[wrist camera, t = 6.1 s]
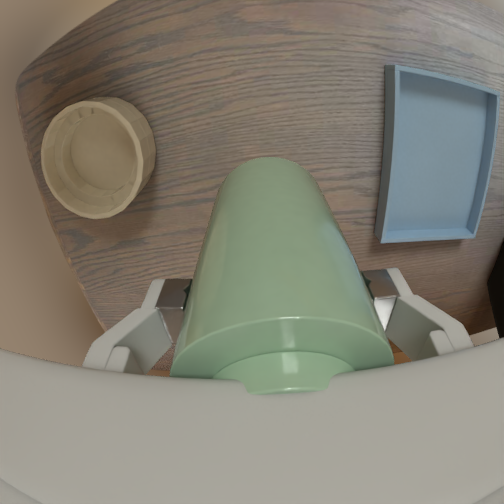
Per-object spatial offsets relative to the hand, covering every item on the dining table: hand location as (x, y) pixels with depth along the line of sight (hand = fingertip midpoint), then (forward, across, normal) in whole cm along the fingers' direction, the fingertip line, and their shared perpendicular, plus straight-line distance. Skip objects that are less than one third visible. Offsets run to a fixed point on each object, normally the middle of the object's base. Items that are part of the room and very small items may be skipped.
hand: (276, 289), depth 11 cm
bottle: (+7, 0, 0) cm, 7 cm away
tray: (+23, -22, +1) cm, 32 cm away
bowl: (+23, +18, -1) cm, 30 cm away
